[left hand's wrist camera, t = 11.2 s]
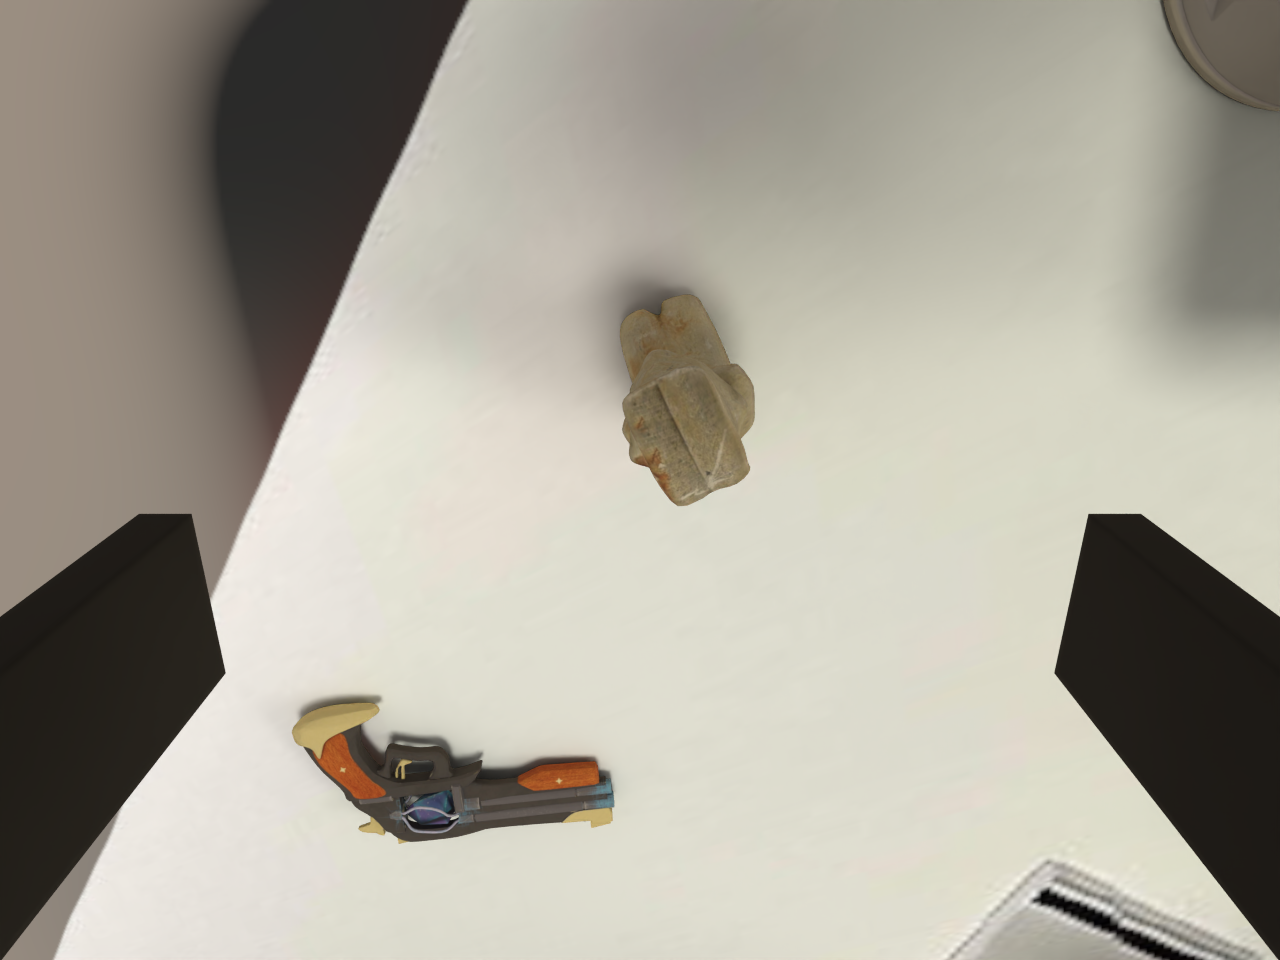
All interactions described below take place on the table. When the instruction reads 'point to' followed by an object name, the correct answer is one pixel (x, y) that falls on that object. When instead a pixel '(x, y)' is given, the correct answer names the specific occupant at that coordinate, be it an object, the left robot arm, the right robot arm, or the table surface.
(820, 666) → the table surface
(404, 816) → the toy gun
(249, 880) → the table surface
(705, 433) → the sculpture
